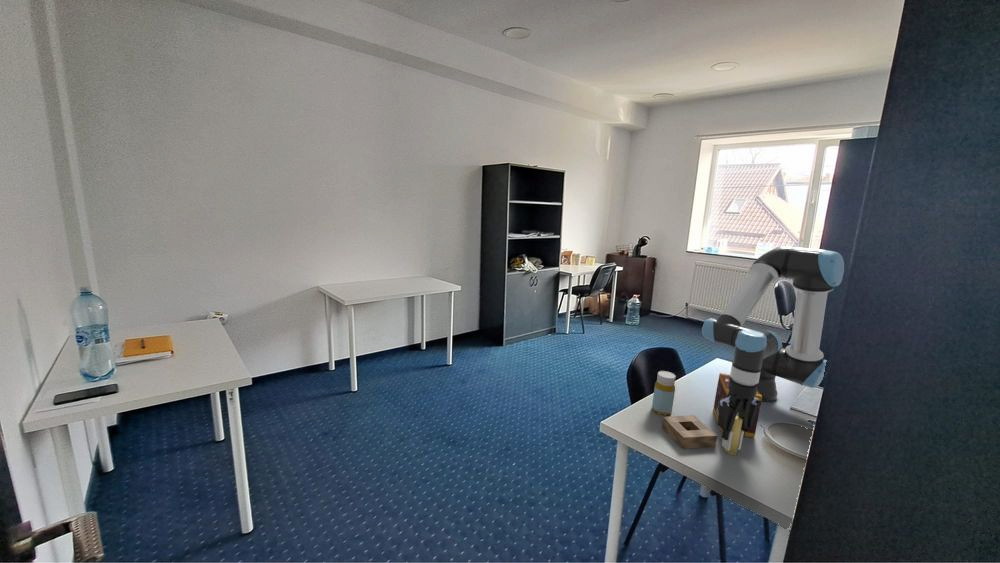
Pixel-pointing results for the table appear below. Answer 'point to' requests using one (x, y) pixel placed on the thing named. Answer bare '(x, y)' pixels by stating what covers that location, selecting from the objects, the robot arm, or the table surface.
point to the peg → (735, 436)
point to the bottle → (664, 393)
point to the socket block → (689, 431)
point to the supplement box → (722, 393)
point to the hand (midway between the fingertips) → (731, 447)
